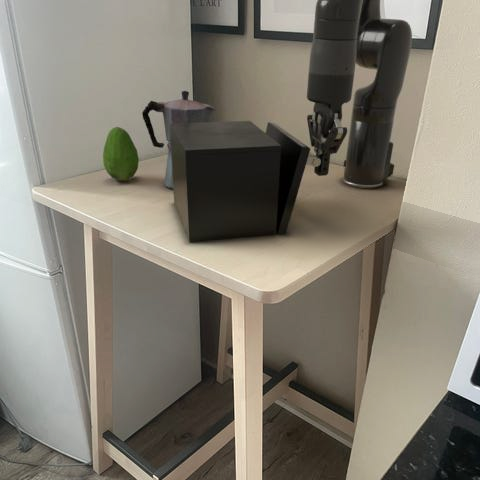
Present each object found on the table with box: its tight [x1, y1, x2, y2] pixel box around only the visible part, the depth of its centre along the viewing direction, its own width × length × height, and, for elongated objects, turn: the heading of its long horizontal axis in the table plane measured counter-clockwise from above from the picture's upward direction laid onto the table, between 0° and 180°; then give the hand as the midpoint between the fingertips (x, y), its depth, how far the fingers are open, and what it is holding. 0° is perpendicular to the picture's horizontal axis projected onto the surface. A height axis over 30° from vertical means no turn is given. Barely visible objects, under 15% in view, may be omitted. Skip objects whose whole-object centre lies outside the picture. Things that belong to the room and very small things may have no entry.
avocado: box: [102, 126, 140, 182], centre depth 113 cm, size 8×8×12 cm
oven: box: [170, 120, 281, 244], centre depth 93 cm, size 16×20×16 cm
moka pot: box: [141, 90, 216, 190], centre depth 108 cm, size 10×15×20 cm, turn 107°
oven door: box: [265, 121, 321, 236], centre depth 96 cm, size 5×20×16 cm, turn 14°
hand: (320, 174), depth 92 cm, fingers closed
